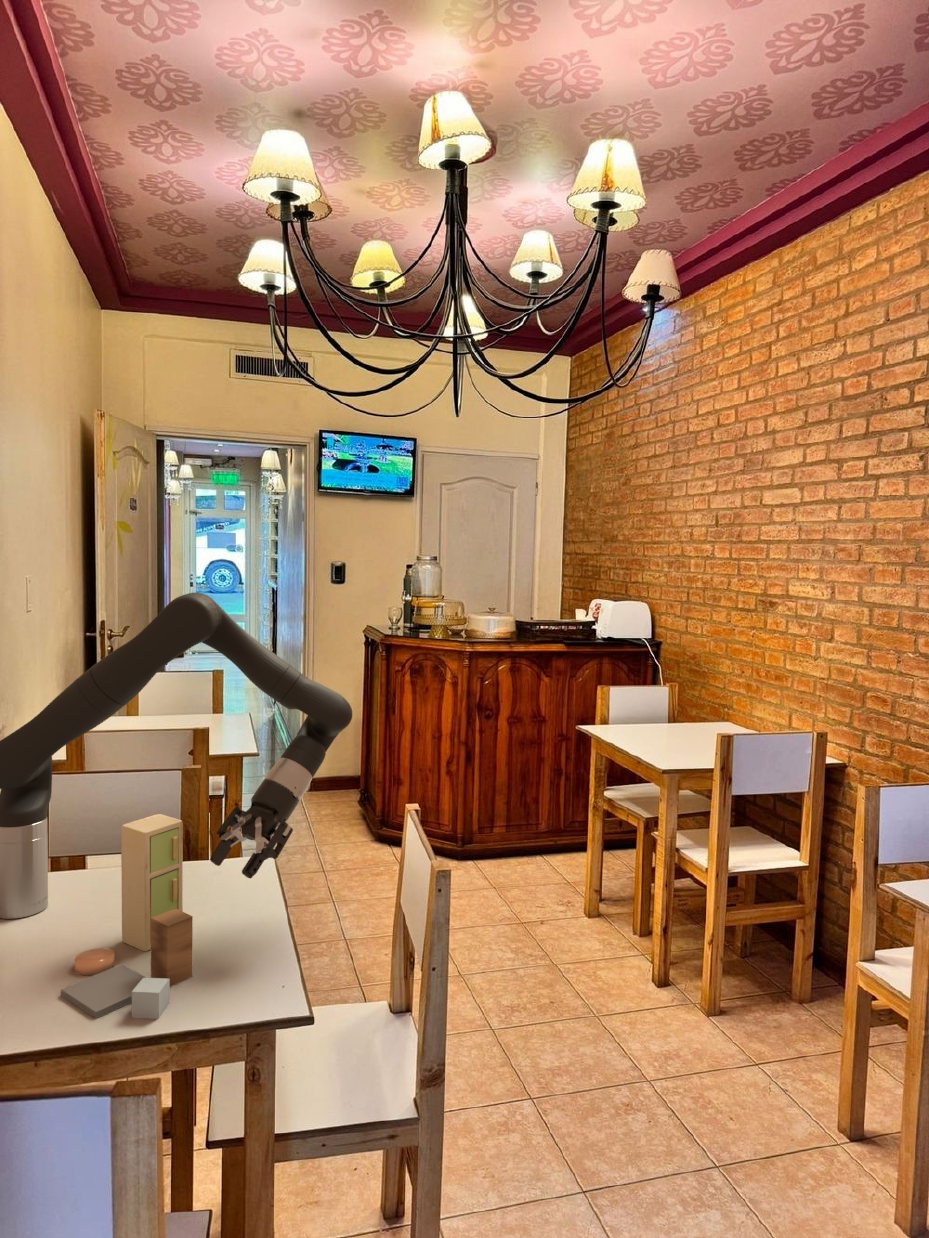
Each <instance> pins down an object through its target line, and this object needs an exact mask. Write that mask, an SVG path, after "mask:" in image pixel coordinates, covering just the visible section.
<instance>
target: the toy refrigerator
mask: <svg viewBox="0 0 929 1238" xmlns="http://www.w3.org/2000/svg"><path fill="white" fill-rule="evenodd" d="M183 825H184V824H183V821H182V820H181V819H178V818H175V817H173V816H172V817H171V816H168V815H165V814H161V813H157V814H153V815H150V816H147V817H144V818H140V819H137V820H132V821H130V822H127V823H124V824H122V825H121V828H120V838H121V839H120V840H121V842H120V846H121V847H120V848H121V851H120V856H121V857H120V860H121V869H120V870H121V939H122V940H121V941H122V942H123V943H124V944H127V945H129V946H131V947H134V948H136V949H138V950H140V951H142V952H149V951H151V918H152V917H154V916H157V915H160V914H162V913H165V912H168V911H170V910H173V909H178V910H180V911H182V912H184V911H183V909H184V908H183V903H184V902H183V883H184V880H183V878H184V877H183V868H184V867H183V855H184V853H183V852H184V851H183V842H184V841H183V835H184V834H183V833H184V832H183V831H184V830H183V827H184V826H183Z"/></svg>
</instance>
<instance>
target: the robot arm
mask: <svg viewBox="0 0 929 1238" xmlns="http://www.w3.org/2000/svg"><path fill="white" fill-rule="evenodd" d="M199 644H204V645H206V646H207V647H210V648H212V649H214V650H215V651H216V652H218V653H220V654H222V655H223V656H224V657H225V658H227V660H229V661H230V662H232V663H233V664H234V665H235V666H236V667H237V668H238V669H239V670H240V672H241V673H242V674H243V675H244V676H245V677H246V678H247V679H248V680H249V681H250V682H251V683H252V684H253V685H254V686H255V687H256V688H258V689H259V690H260V691H262V692H263V693H264V694H265V695H267V696H269V697H270V698H271V699H272V700H274V701H275V702H277V703H278V704H280V705H281V706H283V708H286V709H288V710H291V711H292V710H298V711H300V712H301V713H303V714H305V715H306V718H305V719H304V721H303V723H302V725H301V726H300V728H299V729H298V732H297V734H296V736H294V738H293V739H292V741H290V743H289V744H288V746H287V748H286V749H285V750H284V752H283V753H282V755H281V756H280V758H279V759H278V761H277V762H276V763H274V765H273V766H272V767H271V768H270V770H269V771H268V773H267V774H266V776H265V777H264V778H263V781H262V782H261V783H260V785H259V786H258V787H257V789H256V791H255V792H254V794H253V795H252V796H251V799H250V801H251V802H250V803H251V804H250V807H249V808H248V809H247V810H246V811H245V810H243V809H242V808H241V807H239V806H238V805H237V806H235V807H234V808H233V809H232V811H231V812H230V813H229V814H228V816H227V817H226V819H225V820H224V821H223V823H222V824H221V825H220V827H219V828H218V830H216V835H217V836H218V838H220V842H219V843H218V845H217V846H216V848H215V849H214V851H213V852H212V853H211V855H210V858H209V861H210V862H211V863H212V864H214V865H215V866H218V867H220V866H221V865H222V863H223V862H224V860H225V859H226V857H227V856H228V855H229V854H230V851H231V850H232V847H233V846H235V845H236V844H238V843H239V842H245V841H247V840H248V841H249V840H250V841H255V852H253V853H252V854H251V856H250V858H249V859H248V860H247V861H246V863H245V865H244V866H243V868H242V869H241V874H242V875H244V877H246V878H248V879H252V878H253V877H254V876H255V875H256V874H257V873H258V871H259V870H260V868H261V867H262V865H263V863H264V862H265V861H266V860H269V859H273V860H276V859H278V858H279V856H280V855H281V852H282V851H283V849H284V847H285V845H286V843H287V842H288V840H289V838H291V835H292V833H293V831H294V829H293V828H292V826H291V825H289V823H287V821H288V820H289V818H290V817H291V815H292V814H293V812H294V811H295V810H296V808H297V806H298V805H299V803H300V801H301V800H302V798H303V796H304V795H305V794H306V792H307V790H308V788H309V786H310V783H311V781H313V778H314V777H315V775H316V774H317V772H318V771H319V769H320V767H321V766H322V764H323V762H324V761H325V758H326V753H327V752H328V750H329V748H330V747H331V745H332V744H333V742H334V741H335V740H336V738H337V736H338V735H339V734H340V733H341V732H342V731H344V730H345V729H346V728H347V727H349V725H350V724H351V722H352V719H353V710H352V706H351V704H350V703H349V701H348V700H347V699H346V698H345V697H344V696H343V695H341V694H340V693H338V692H337V691H335V690H334V689H331V688H330V687H327V686H325V685H323V684H321V683H319V682H316V681H314V680H312V679H309V678H308V677H307V676H306V675H304V673H302V672H301V671H299V670H298V669H296V667H294V666H293V665H291V664H290V663H289V662H287V661H286V660H284V659H283V658H281V657H280V656H278V655H277V654H276V653H275V652H272V651H271V649H269V648H267V647H266V646H265V645H263V644H262V643H261V642H259V641H258V640H257V639H256V638H254V637H253V636H252V635H251V634H250V633H248V631H246V630H245V629H244V628H243V627H242V626H240V625H239V624H238V623H237V622H236V621H235V620H234V619H233V618H232V617H231V616H230V615H229V614H228V613H227V612H226V611H225V609H223V608H222V607H221V606H220V604H218V602H216V601H215V600H214V598H212V597H211V596H209V595H207V594H205V593H202V592H189V593H185V594H182V595H179V596H177V597H175V598H174V599H172V600H171V601H169V603H168V604H167V605H166V606H165V607H164V608H163V609H162V610H161V611H160V612H159V613H158V614H157V616H155V617H154V618H153V620H151V621H150V622H149V623H148V624H147V625H146V626H145V627H144V628H143V629H142V630H141V631H140V632H139V633H138V634H137V635H136V636H134V637H133V638H132V639H130V640H129V641H128V642H126V643H124V644H123V645H121V646H119V647H118V648H115V649H114V650H113V651H111V652H110V653H108V655H106V656H104V657H103V658H102V659H100V660H99V661H97V662H96V663H94V664H93V665H91V667H89V669H87V670H86V671H85V672H84V673H82V674H81V675H80V676H78V677H77V678H76V679H75V680H74V681H73V682H72V683H70V684H69V685H68V686H67V687H66V688H65V689H64V690H63V691H61V692H60V693H59V694H58V695H57V696H56V697H55V698H54V699H52V700H51V702H50V703H48V705H46V706H45V707H44V708H43V710H41V711H40V712H39V713H38V714H37V715H36V716H34V717H33V718H32V719H31V720H29V721H28V722H26V723H25V724H23V725H22V726H21V727H19V728H18V729H16V730H15V731H13V732H12V733H10V734H8V735H7V736H5V737H3V738H2V739H0V919H4V920H5V919H7V920H8V919H19V918H26V917H30V916H32V915H35V914H38V913H40V912H43V910H45V909H47V907H48V906H49V858H48V857H49V853H48V849H49V846H48V841H49V840H48V839H49V838H48V837H49V836H48V808H49V805H50V802H51V798H52V791H53V790H52V789H53V788H52V787H53V786H52V785H53V756H54V755H55V754H56V753H57V752H58V751H60V750H61V749H62V748H63V747H65V746H66V745H67V744H70V743H71V742H73V741H75V740H76V739H78V738H80V737H82V736H84V735H85V734H86V733H88V732H90V731H91V730H93V729H94V728H97V727H98V726H100V725H101V724H102V723H104V722H106V721H107V720H108V719H110V718H111V717H112V716H114V715H115V714H116V713H117V712H119V711H120V710H121V709H122V708H123V707H125V706H126V705H127V704H129V702H131V700H133V699H134V698H135V697H136V696H138V694H139V693H140V692H141V691H142V690H143V689H144V688H145V687H146V686H147V685H148V684H149V682H150V681H151V680H152V679H153V678H154V676H155V675H156V674H157V673H158V672H159V671H160V670H162V668H163V667H165V666H166V665H167V664H169V663H170V662H172V661H173V660H175V658H177V657H179V656H180V655H182V654H183V653H185V652H186V651H188V650H189V649H192V648H193V647H195V646H196V645H199ZM228 827H229V829H228ZM227 829H228V830H227ZM226 831H227V832H226Z"/></svg>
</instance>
